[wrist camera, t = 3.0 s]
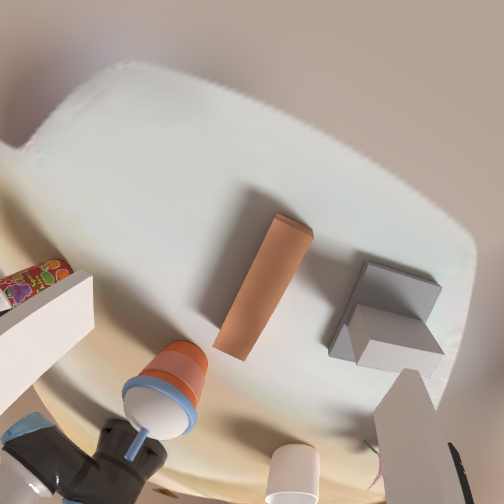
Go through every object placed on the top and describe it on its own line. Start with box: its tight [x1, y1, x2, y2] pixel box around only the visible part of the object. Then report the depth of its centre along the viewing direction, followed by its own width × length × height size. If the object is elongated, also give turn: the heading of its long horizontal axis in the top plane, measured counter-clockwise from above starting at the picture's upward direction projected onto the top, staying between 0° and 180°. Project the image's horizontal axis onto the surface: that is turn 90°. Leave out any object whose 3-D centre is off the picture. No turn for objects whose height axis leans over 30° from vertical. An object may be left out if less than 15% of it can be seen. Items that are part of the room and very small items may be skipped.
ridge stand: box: [328, 260, 445, 378], centre depth 27 cm, size 10×12×8 cm
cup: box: [265, 444, 319, 504], centre depth 36 cm, size 8×12×10 cm
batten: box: [212, 212, 314, 361], centre depth 30 cm, size 4×16×4 cm, turn 156°
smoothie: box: [0, 259, 73, 311], centre depth 28 cm, size 8×8×20 cm
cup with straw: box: [122, 341, 208, 461], centre depth 28 cm, size 9×9×18 cm
